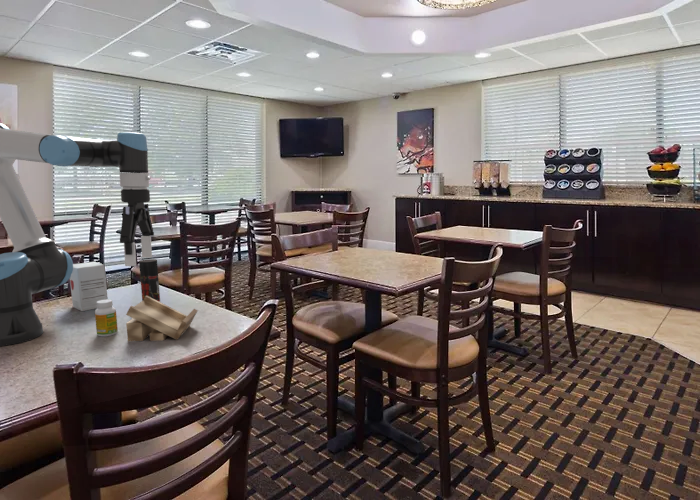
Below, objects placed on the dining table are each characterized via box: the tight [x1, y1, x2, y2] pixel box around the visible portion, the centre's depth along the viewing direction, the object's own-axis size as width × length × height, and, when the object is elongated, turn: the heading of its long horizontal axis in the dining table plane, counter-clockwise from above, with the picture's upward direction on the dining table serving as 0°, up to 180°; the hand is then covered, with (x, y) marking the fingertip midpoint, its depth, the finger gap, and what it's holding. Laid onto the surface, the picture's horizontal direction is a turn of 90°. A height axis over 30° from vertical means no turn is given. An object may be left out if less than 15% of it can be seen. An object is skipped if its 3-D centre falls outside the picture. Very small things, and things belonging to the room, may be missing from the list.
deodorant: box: [138, 258, 161, 302], centre depth 168 cm, size 6×6×15 cm
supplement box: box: [69, 261, 108, 312], centre depth 162 cm, size 9×9×15 cm
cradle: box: [125, 295, 199, 342], centre depth 134 cm, size 16×12×10 cm
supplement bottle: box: [94, 299, 119, 337], centre depth 134 cm, size 5×5×10 cm
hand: (139, 261), depth 137 cm, fingers open, 13 cm apart
